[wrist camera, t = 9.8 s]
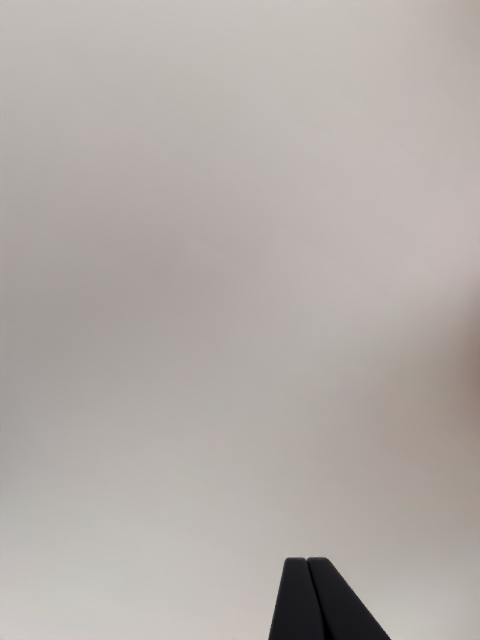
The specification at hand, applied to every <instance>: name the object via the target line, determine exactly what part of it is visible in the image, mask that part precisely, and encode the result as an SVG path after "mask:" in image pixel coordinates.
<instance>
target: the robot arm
mask: <svg viewBox="0 0 480 640" xmlns="http://www.w3.org/2000/svg"><path fill="white" fill-rule="evenodd" d="M268 640H391V639H390V637H389V636H388V635H387V634H386V632H385V631H384V630H383V628H382V627H381V626H380V625H379V623H378V622H377V621H376V619H375V618H374V617H373V616H372V614H371V613H370V612H369V610H368V609H367V608H366V607H365V605H364V604H363V603H362V602H361V600H360V599H359V598H358V596H357V595H356V594H355V593H354V591H353V590H352V589H351V587H350V586H349V585H348V584H347V582H346V581H345V580H344V578H343V577H342V576H341V575H340V573H339V572H338V571H337V569H336V568H335V567H334V566H333V564H332V563H331V562H330V561H329V559H327V558H325V557H310V558H308V559H307V560H306V559H305V558H302V557H292V558H286V559H285V562H284V567H283V572H282V576H281V581H280V586H279V591H278V595H277V600H276V605H275V610H274V614H273V619H272V624H271V628H270V633H269V638H268Z"/></svg>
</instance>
